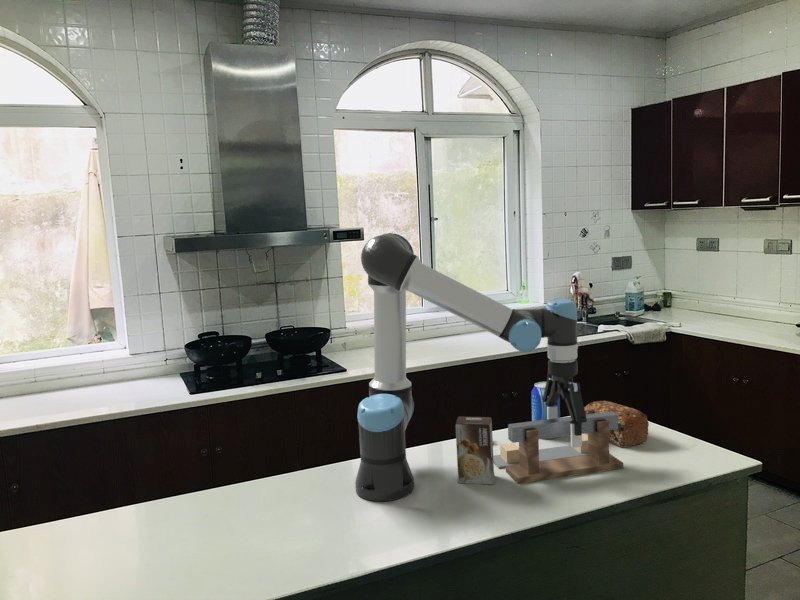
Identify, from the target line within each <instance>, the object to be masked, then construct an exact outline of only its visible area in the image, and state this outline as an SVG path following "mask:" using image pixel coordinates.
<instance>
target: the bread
mask: <svg viewBox="0 0 800 600" xmlns="http://www.w3.org/2000/svg"><path fill="white" fill-rule="evenodd" d="M584 409H585V414H594V413H602V412H610V411H613V412H614V413H616V414H618V429H615V430H609V444H611V445H614V446H617V447H620V448H628V447H634V446H639V445H641V444H642V445H643V444H645V443H646V442H647V440H648V435H649V420H648V416H647V414H644V413H643V412H642V411H640V410H638V409H635V408H633V407H629V406H626V405H622V404H618V403H615V402H612V401H608V400H599V401H593V402H592V401H591V402H589V403H588V404H587V405H586V406H584Z"/></svg>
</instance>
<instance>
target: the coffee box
mask: <svg viewBox="0 0 800 600" xmlns="http://www.w3.org/2000/svg"><path fill="white" fill-rule="evenodd" d="M492 421H493V418H492V417H489V416H486V417H485V416H458V417H457V419H456V421H455V439H456V441H455V443H456V460H457V461H456V463H457V464H456V465H457V480H458V481H457V482H458V483H459V484H472V485H473V484H475V485H477V484H478V485H493V484H494V481H495V477H496V476H495V467H494V465H495V464H494V461H493V456H494V445H493V444H494V442H493V422H492Z"/></svg>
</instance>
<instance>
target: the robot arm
mask: <svg viewBox="0 0 800 600" xmlns="http://www.w3.org/2000/svg"><path fill="white" fill-rule="evenodd" d="M420 260H421V259H420V256H418V255H416V254H415V252H414V249H413V246H412V245H411V243H410V242H409V241H408V239H407V238H405V237H404V236H403V235H401V234H398V233H391V232H390V233H382V234H380V235H376V236H374V237H372V238H371V239H369V240H368V241H367V242H366V243H365V245H363V248H362V251H361V255H360V263H361V265H362V268H363V270H364V272H365V273H366V274H367V285H368V286H369V287H370V288H371V290H373V336H374V337H373V340H374V341H373V343H374V344H373V345H374V346H373V349H374V350H373V351H374V352H373V353H374V356H373V357H374V378H372V379H371V381H370V382H369V383H368V395H369V396H368V397H365V398H364V399H362V400H361V401H360V402H359V404H358V408H357V422H358V437H359V438H358V440H359V453H360V463H359V467H358V470H357V474H356V477H355V483H354V485H355V486H354V487H355V493H356V495H357V496H359V497H360V498H362V499H365V500H368V501H374V502H389V501H395V500H399V499H403V498H405V497H407V496H409V495H410V494H411V493H413V492H414V489H415V477H414V475H413V473H412V470H411V467H410V465H409V464H410V463H409V462H408V460H407V451H406V450H407V449H406V448H407V446H406V429H407V427H408V425H409V422H410V420H411V418H412V416H413V413H414V410H415V409H414V408H415V402H414V398H413V394H412V390H413V389H412V381H411V380H409V379H408V378H407V365H406V364H407V342H406V341H407V308H406V307H407V304H406V303H407V298H406V297H407V295H406V294H407V291H408V292H409V293H411V294H414V295H415V296H418V297H419V298H421V299H423V300H425V301H427V302H429V303H431V304H433V305H435V306H437V307H438V308H441V309H443V310H445V311H447V312H449V313H450V314H453V315H454V316H457V317H458V318H461V319H462V320H464V321H466V322H468V323H471V324H473V325H474V326H476V327H478V328H480V329H482V330H484V331H487V332H488V333H490V334H492V335H493V336H496V337H498V338H499V339H502V340H503V341H505V342H507V343H509V344H510V345H511V346H512V347H513V348H514V349H515V350H517V351H519V352H521V353H522V352H523V353H528V352H531V351H534V350H535V349H537V347H539V345H540V343H541V341H542V338H543V339H544V338H547V344H546V345H547V358H548V361H547V374H546V375H547V376H546V381H545V382H546V387H545V391H544V396H543V402H546V406H547V419H554V418H558V410H557V406H554V405H558V403H557V401H558V399H559V397H560V398H562V400H564V401H565V404H566V407H567V409H568V413H569V415H570V416H571V419H572V421H571V422H570V425H571V435H570V445H571V447H572V448H574V447H581V446H582V423H583V422H587V418H586V414H585V409H584V407H585V406H584V402H583V399H582V398H583V397H582V394H581V384H580V382H574V377H575V376H576V375H578V373H579V367H578V360H577V358H578V349H579V346H578V314H577V313H578V311H577V304H576V302H574V301H573V300H570V299H552V300H548V301H547V302H546V306H545V307H544V308H537V309H536V308H533V309H530V308H529V309H527V308H525V309H524V308H523V309H515V308H511V307H508V306H506V305H505V304H502V303H501V302H500V301H497V300H495V299H493V298H491V297H489V296H487V295H485V294H483V293H481V292H479V291H477V290H475V289H473V288H471V287H469V286H467V285H465V284H464V283H462V282H459V281H457V280H456V279H453V278H451V277H450V276H447V275H446V274H444V273H442V272H439V271H438V270H436V269H435V268H432V267H430V266H427V265H426V264H424V263H423V262H421V261H420ZM547 396H549V397H547ZM570 416H569V417H570Z"/></svg>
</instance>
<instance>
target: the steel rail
mask: <svg viewBox="0 0 800 600" xmlns="http://www.w3.org/2000/svg"><path fill="white" fill-rule="evenodd" d="M586 418H587V422H583V423H582V434H588V433H592V432H597V421H604V420H608V421H609V430H615V429H618V414H616V413H614V412H613V411H610V412H602V413H594V414H586ZM571 421H572V419H571V416H563V417H560V418H554V419H546V420H538V421H532V420H531V421H525V422H524V421H523V422H516V423H508V424H507V435H508V437H507V439H508V441H510V442H511V443H514V444H516V443H519V442H523V441H526V430H534V429H537V430H538V437H539V440H547V439H546V438H552V439H554V438H553V437H556V438H560V437H566V436H567V437H568V436H571V425H570V422H571Z"/></svg>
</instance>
